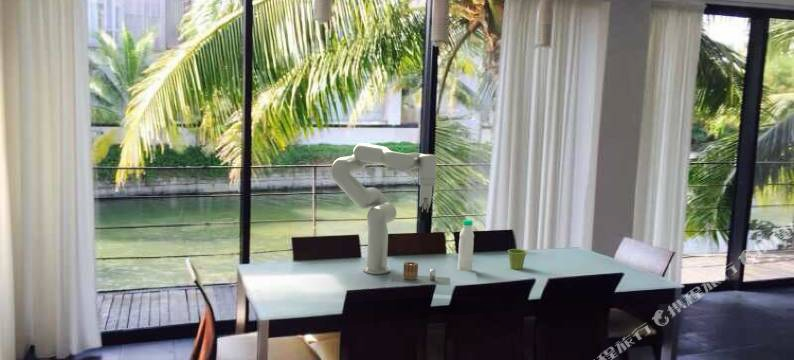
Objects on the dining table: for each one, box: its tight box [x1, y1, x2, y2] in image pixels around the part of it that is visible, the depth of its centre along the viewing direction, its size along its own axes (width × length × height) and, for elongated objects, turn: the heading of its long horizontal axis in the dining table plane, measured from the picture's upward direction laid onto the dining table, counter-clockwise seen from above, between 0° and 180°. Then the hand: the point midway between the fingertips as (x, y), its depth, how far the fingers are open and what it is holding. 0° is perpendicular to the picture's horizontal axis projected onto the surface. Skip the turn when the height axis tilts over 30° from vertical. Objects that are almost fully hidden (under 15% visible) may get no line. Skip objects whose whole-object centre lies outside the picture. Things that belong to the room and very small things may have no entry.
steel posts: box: [405, 264, 437, 281], centre depth 301 cm, size 5×14×7 cm, turn 85°
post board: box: [391, 273, 451, 286], centre depth 301 cm, size 12×26×2 cm, turn 85°
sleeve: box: [403, 261, 419, 279], centre depth 301 cm, size 6×6×6 cm
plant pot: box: [507, 248, 528, 270], centre depth 334 cm, size 9×9×9 cm
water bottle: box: [457, 219, 475, 272], centre depth 324 cm, size 7×7×25 cm
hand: (425, 218), depth 303 cm, fingers open, 9 cm apart
